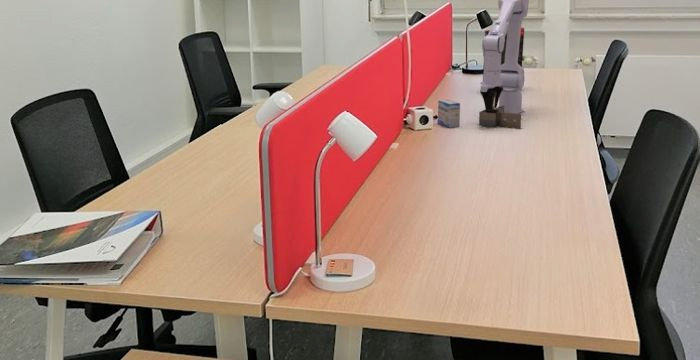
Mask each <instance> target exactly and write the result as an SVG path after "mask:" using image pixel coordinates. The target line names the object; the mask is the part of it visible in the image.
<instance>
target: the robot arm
mask: <svg viewBox="0 0 700 360" xmlns="http://www.w3.org/2000/svg"><path fill="white" fill-rule="evenodd" d="M497 1H498V2H497V3H498V4H497V6H498V9H499V14H498V16H497V19H495V20H494V21H493V22H492V25H491V27H490V29H489V30H490V31H489V33H488V35H486V37H485V36H483V38H482V43H481V49H482V56H483V66H484V82H483V81H481V82H480V89H479V92H480V95H481V97H482V99H483V103H484V108H485V109H486V110H492V108H493V102H494V97H495V109H496V108H498V107H500V106H502V105H504V112H505V113H515V114H522V112H524V111H525V110H524V109H522V108H523V107H522V105H523V103H522V101H523V94H522V91H521V90H522V89H523V88H524V86H525V69H524V68H523V66H522V67H521V66H520V65H519V64H518V53H519V44H520V34H521V28H522V23H523V19H524V18H527V16H528V13H529V5H530V4H529V3H530V0H497ZM507 31H508V33H507ZM506 33H507V43H506V53H505V63H504V64H502V65H501V52H502V51H503V49H504V42H505V35H506ZM504 71H517V72H504Z"/></svg>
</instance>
